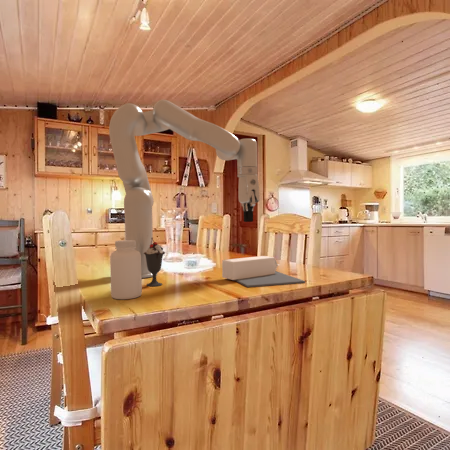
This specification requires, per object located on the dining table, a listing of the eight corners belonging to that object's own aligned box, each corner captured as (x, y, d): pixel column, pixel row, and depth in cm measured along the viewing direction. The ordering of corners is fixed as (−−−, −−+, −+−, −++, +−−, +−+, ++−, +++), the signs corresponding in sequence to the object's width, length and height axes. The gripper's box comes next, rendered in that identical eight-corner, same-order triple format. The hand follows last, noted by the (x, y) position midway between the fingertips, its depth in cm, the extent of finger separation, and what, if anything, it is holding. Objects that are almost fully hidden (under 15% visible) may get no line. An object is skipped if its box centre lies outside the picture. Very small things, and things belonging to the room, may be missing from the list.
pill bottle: (114, 293, 94) (114, 239, 93) (143, 292, 94) (143, 239, 94) (107, 300, 86) (106, 242, 85) (139, 299, 87) (138, 241, 86)
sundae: (146, 288, 100) (146, 238, 99) (141, 284, 106) (140, 236, 105) (168, 285, 103) (167, 237, 102) (161, 282, 109) (161, 236, 108)
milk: (232, 262, 109) (281, 256, 121) (221, 259, 113) (269, 254, 126) (232, 280, 109) (281, 273, 122) (221, 277, 114) (269, 270, 127)
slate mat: (247, 287, 101) (247, 285, 101) (225, 275, 120) (225, 274, 120) (305, 282, 107) (305, 281, 107) (275, 272, 126) (275, 270, 126)
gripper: (265, 170, 120) (266, 221, 120) (248, 175, 134) (249, 221, 134) (246, 170, 117) (247, 222, 118) (231, 174, 131) (232, 221, 132)
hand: (248, 221), depth 126 cm, fingers closed
